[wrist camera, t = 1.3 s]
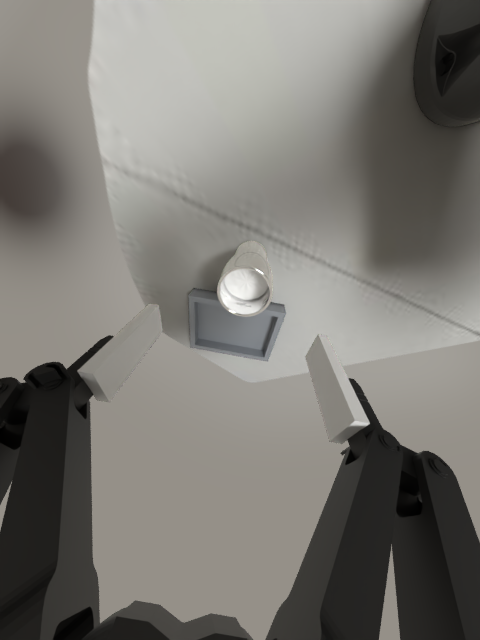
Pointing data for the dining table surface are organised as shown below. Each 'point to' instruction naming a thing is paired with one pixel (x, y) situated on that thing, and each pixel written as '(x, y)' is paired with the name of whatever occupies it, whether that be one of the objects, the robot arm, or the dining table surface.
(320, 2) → the dining table surface
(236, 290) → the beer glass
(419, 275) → the dining table surface
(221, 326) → the tray
